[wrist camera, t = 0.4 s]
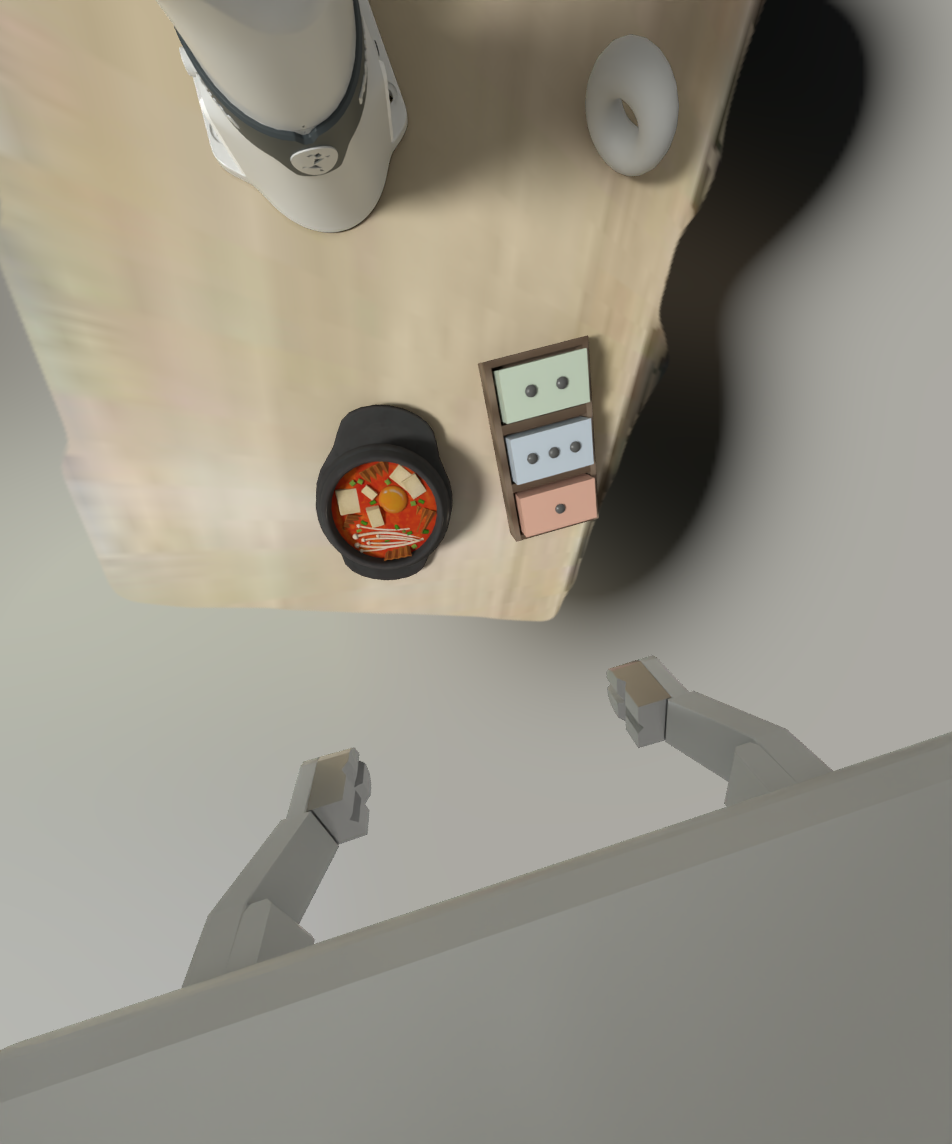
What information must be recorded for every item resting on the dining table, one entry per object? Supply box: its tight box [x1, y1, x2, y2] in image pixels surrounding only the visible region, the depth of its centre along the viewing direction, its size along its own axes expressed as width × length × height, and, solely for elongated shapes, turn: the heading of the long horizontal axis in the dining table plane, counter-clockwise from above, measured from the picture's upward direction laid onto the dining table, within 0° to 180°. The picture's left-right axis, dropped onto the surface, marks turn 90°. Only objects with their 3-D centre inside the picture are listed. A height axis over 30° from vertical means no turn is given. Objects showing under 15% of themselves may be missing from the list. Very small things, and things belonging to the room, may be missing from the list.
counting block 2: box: [504, 416, 594, 485], centre depth 50 cm, size 6×11×4 cm, turn 103°
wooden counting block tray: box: [478, 336, 599, 542], centre depth 52 cm, size 24×13×4 cm, turn 13°
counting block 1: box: [492, 348, 590, 424], centre depth 46 cm, size 6×11×4 cm, turn 103°
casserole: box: [316, 405, 452, 580], centre depth 49 cm, size 25×19×8 cm
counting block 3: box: [514, 473, 597, 537], centre depth 54 cm, size 6×11×4 cm, turn 103°
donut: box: [585, 34, 679, 176], centre depth 35 cm, size 10×3×10 cm, turn 50°
